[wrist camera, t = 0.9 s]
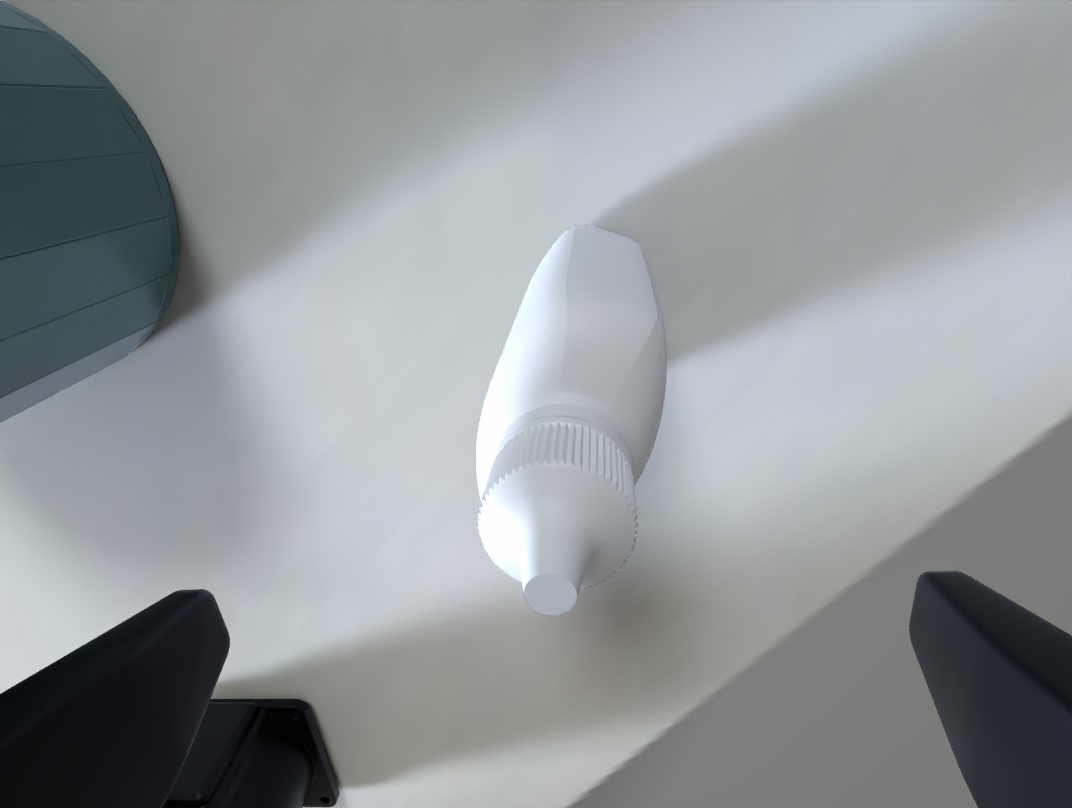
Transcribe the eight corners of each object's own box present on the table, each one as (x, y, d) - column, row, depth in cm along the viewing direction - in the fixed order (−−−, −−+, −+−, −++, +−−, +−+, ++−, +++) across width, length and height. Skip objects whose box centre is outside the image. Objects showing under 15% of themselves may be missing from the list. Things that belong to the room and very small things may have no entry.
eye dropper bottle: (698, 308, 19) (837, 586, 8) (560, 423, 21) (517, 771, 10) (598, 196, 18) (598, 338, 7) (462, 328, 20) (292, 602, 9)
